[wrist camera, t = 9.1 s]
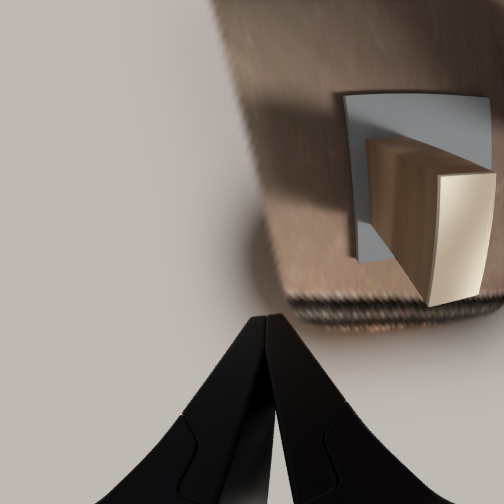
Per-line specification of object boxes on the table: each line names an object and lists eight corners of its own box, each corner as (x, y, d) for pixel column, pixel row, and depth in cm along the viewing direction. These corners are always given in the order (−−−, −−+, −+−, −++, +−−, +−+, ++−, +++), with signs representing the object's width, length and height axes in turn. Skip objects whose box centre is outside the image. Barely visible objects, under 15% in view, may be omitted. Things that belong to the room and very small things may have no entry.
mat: (484, 97, 14) (489, 98, 13) (479, 238, 18) (484, 241, 18) (342, 95, 15) (345, 95, 14) (356, 258, 19) (358, 263, 19)
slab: (405, 136, 15) (496, 173, 8) (407, 218, 17) (478, 294, 10) (364, 139, 15) (440, 176, 8) (370, 224, 17) (428, 306, 10)
